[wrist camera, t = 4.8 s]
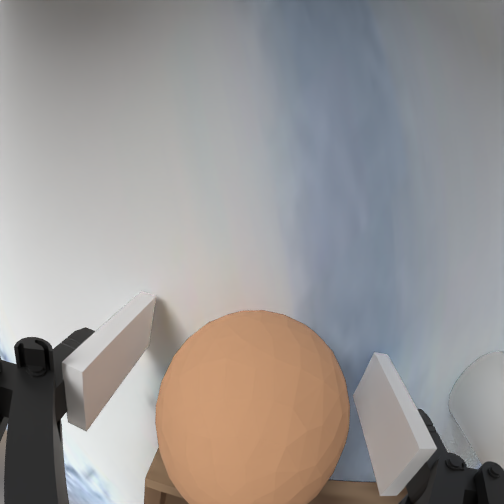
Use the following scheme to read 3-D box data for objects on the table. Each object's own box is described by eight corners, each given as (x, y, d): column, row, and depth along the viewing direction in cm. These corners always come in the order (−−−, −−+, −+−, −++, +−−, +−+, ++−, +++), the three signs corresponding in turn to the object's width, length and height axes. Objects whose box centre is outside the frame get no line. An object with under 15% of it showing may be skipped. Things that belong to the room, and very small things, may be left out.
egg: (359, 325, 14) (430, 481, 5) (282, 419, 16) (278, 570, 7) (232, 253, 14) (158, 378, 5) (170, 363, 15) (91, 505, 6)
